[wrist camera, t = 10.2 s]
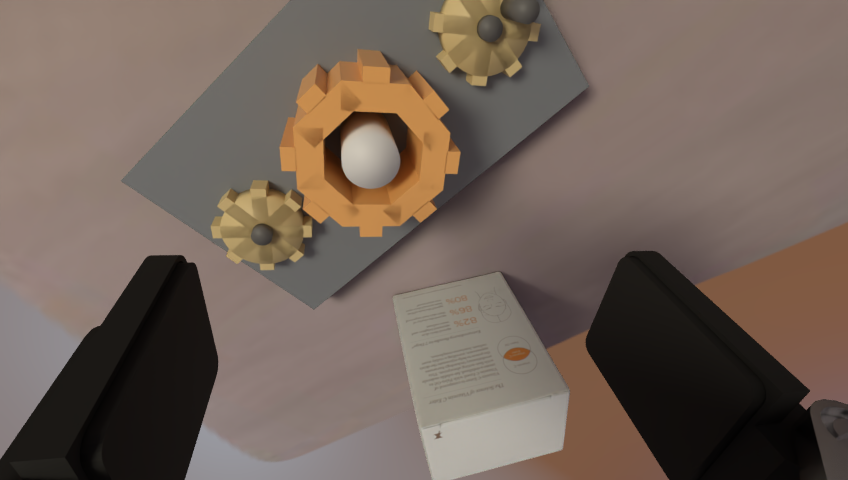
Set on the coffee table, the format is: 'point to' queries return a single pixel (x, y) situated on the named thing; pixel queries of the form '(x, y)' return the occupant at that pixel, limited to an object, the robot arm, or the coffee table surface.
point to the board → (271, 99)
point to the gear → (322, 170)
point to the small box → (479, 377)
